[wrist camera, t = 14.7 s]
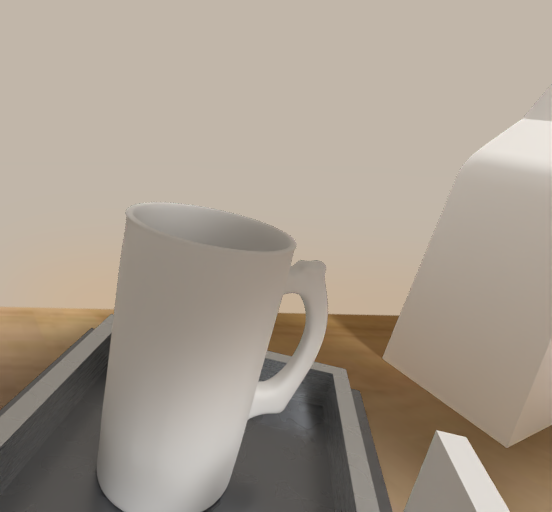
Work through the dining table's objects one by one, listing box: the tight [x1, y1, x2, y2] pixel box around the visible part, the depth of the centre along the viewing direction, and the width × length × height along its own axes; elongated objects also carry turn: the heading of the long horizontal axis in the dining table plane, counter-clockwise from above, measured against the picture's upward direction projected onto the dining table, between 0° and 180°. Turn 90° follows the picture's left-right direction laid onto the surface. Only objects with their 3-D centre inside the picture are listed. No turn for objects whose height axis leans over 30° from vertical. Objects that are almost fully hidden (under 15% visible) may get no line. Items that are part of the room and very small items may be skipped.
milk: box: [382, 84, 552, 448], centre depth 34 cm, size 12×12×26 cm
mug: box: [97, 202, 328, 512], centre depth 19 cm, size 10×7×12 cm, turn 114°
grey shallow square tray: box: [0, 314, 392, 512], centre depth 20 cm, size 20×20×4 cm
